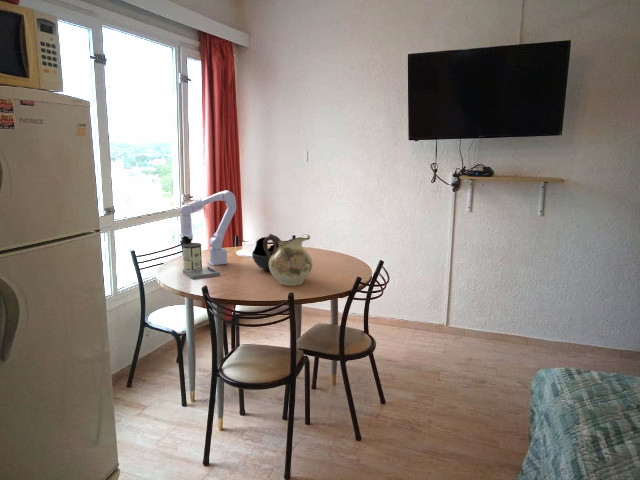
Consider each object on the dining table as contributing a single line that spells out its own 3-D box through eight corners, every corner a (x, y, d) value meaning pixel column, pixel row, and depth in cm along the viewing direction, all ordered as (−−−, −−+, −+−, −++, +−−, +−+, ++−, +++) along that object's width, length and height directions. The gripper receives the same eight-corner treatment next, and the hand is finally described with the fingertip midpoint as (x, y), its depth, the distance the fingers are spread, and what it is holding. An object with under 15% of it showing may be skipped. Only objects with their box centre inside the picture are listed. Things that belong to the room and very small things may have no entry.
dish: (279, 250, 311) (279, 234, 309) (266, 258, 287) (266, 241, 285) (245, 248, 316) (244, 232, 314) (230, 256, 292) (229, 239, 290)
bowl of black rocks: (251, 266, 267) (250, 234, 263) (285, 264, 271) (285, 233, 267) (253, 275, 248) (253, 241, 244) (290, 273, 252) (290, 240, 248)
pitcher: (317, 286, 227) (317, 237, 223) (270, 290, 220) (270, 239, 216) (306, 275, 248) (306, 230, 244) (263, 278, 242) (262, 232, 237)
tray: (209, 269, 259) (208, 265, 259) (220, 275, 246) (219, 272, 246) (182, 272, 251) (182, 269, 251) (192, 279, 238) (192, 276, 238)
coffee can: (190, 265, 266) (189, 242, 263) (205, 267, 263) (204, 243, 260) (179, 270, 257) (178, 245, 254) (195, 271, 253) (194, 246, 251)
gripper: (175, 224, 265) (176, 247, 268) (183, 228, 254) (184, 252, 256) (187, 223, 269) (188, 246, 272) (195, 227, 257) (196, 250, 260)
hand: (187, 249), depth 264 cm, fingers closed
